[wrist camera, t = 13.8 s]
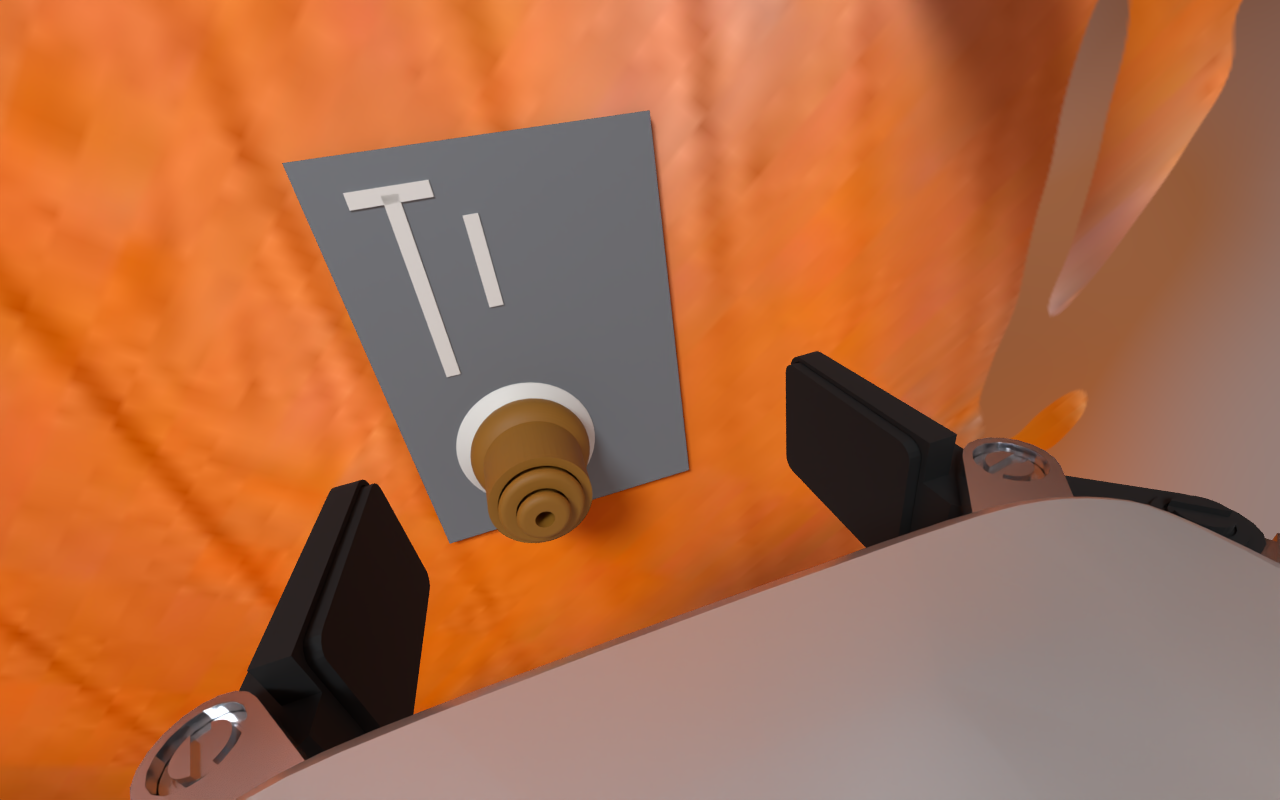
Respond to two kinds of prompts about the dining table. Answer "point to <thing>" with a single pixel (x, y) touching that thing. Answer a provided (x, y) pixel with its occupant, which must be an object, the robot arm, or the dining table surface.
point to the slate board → (509, 293)
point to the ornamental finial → (533, 469)
